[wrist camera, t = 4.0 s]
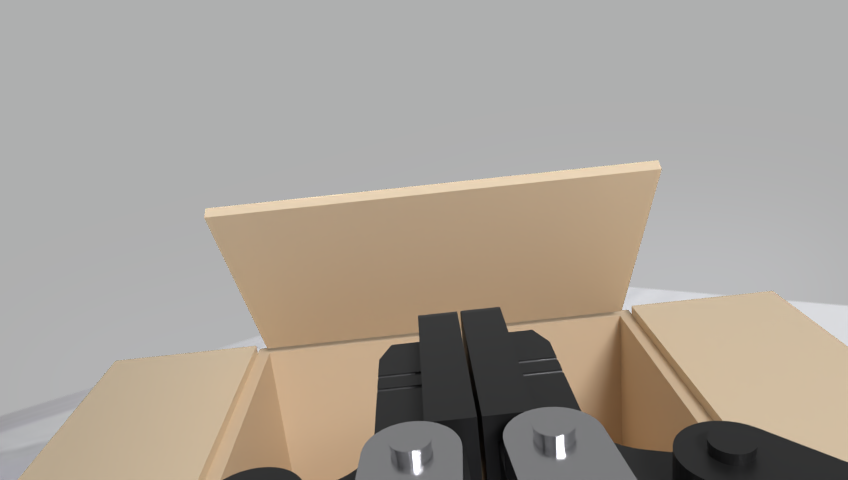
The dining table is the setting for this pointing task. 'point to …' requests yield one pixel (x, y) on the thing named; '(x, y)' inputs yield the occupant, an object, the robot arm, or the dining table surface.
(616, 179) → the flap
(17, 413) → the dining table surface
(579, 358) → the carton
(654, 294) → the dining table surface
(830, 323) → the dining table surface
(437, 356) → the robot arm
